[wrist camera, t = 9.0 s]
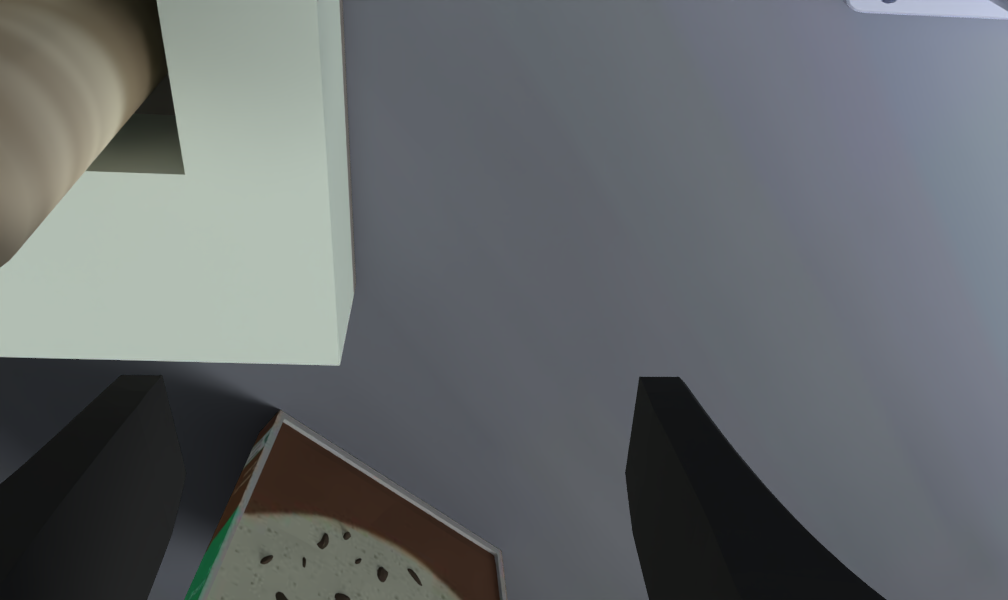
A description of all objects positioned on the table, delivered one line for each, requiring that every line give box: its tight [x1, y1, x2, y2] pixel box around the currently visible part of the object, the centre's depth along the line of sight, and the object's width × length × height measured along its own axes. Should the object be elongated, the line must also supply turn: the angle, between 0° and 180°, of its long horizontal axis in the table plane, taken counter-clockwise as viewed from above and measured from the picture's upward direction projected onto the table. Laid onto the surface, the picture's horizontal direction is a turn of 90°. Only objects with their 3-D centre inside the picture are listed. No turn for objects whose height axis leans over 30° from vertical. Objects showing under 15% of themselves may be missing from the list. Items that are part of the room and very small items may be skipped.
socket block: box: [0, 0, 356, 365], centre depth 18 cm, size 10×14×4 cm
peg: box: [0, 0, 168, 267], centre depth 16 cm, size 3×3×8 cm
